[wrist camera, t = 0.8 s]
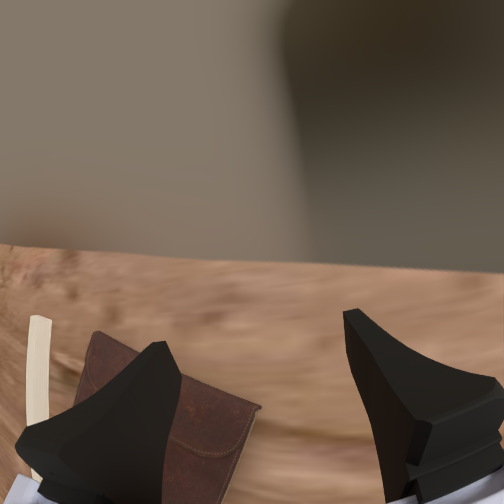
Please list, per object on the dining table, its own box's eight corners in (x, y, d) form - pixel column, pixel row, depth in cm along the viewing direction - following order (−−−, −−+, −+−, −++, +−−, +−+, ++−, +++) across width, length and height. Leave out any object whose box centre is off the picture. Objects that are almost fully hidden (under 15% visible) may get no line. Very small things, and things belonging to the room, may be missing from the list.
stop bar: (58, 500, 24) (43, 502, 22) (50, 495, 25) (35, 497, 22) (52, 320, 35) (37, 315, 33) (44, 320, 36) (30, 315, 34)
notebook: (211, 535, 19) (201, 542, 18) (74, 441, 28) (62, 441, 26) (264, 404, 24) (256, 406, 22) (105, 332, 32) (93, 329, 30)
